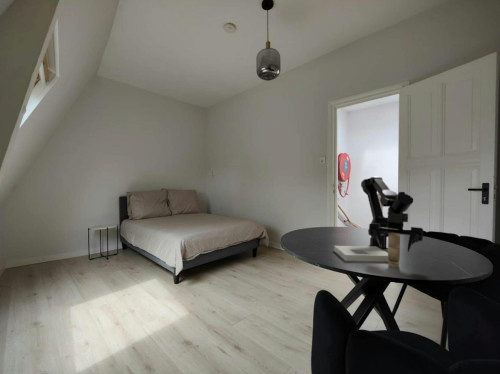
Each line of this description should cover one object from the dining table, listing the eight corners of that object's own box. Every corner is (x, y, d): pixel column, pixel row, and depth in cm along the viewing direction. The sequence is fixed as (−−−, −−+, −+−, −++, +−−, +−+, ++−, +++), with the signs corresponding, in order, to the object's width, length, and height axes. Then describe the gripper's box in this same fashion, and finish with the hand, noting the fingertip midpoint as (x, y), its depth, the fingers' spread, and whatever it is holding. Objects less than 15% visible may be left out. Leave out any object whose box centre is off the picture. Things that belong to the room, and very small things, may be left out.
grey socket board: (375, 251, 111) (376, 246, 111) (393, 261, 97) (393, 255, 97) (334, 250, 111) (334, 245, 111) (345, 261, 97) (345, 255, 97)
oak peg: (395, 264, 94) (396, 232, 93) (401, 268, 90) (402, 235, 89) (385, 264, 94) (386, 232, 93) (391, 267, 90) (392, 234, 89)
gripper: (370, 204, 100) (366, 234, 91) (423, 207, 90) (425, 241, 81) (371, 220, 107) (368, 249, 98) (421, 224, 97) (423, 257, 88)
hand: (394, 249), depth 91 cm, fingers open, 9 cm apart
